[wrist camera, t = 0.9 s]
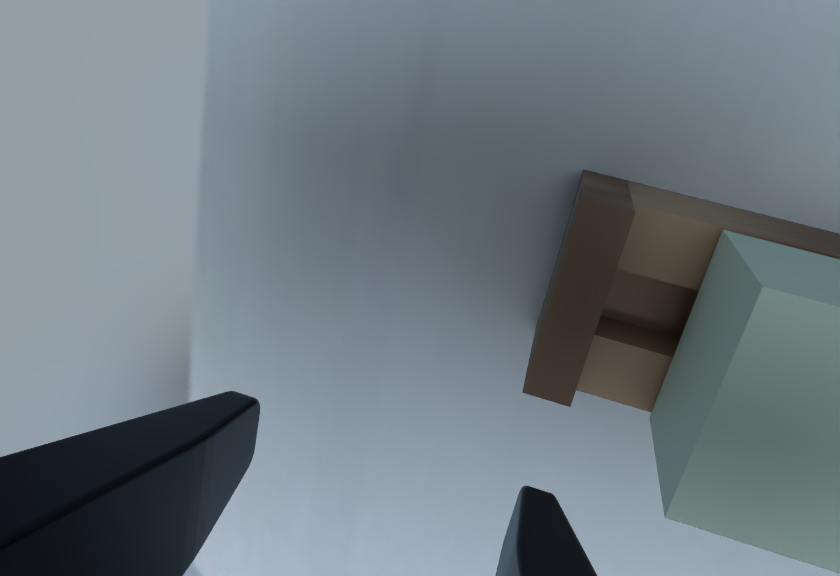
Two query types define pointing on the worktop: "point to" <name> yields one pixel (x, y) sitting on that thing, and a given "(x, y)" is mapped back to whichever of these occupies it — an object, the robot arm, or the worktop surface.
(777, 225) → the rail
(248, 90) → the worktop surface
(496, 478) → the worktop surface
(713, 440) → the block
